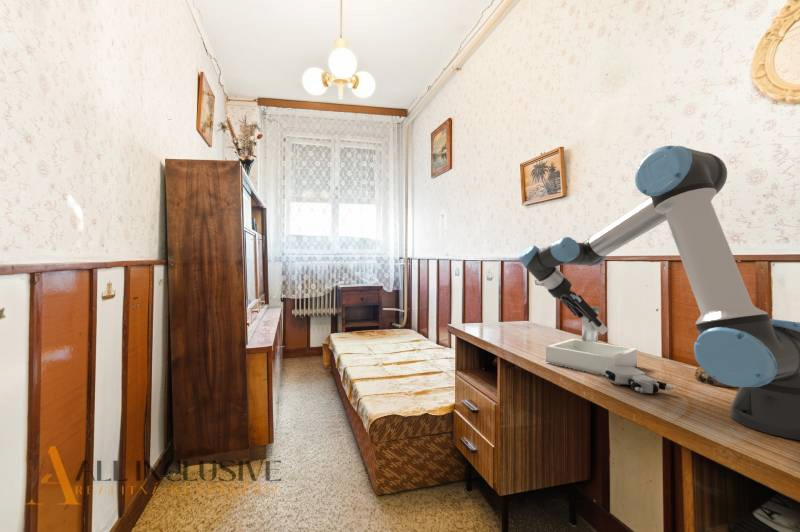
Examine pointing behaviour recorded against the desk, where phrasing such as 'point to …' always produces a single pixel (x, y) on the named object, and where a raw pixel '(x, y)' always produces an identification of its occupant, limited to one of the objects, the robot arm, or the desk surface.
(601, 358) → the bin
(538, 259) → the robot arm
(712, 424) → the desk surface
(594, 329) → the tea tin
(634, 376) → the robot toy
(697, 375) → the bread roll
